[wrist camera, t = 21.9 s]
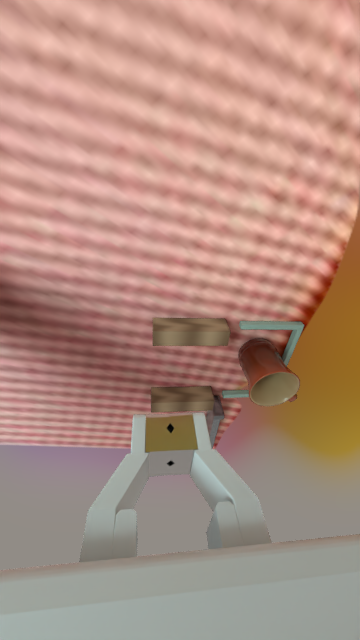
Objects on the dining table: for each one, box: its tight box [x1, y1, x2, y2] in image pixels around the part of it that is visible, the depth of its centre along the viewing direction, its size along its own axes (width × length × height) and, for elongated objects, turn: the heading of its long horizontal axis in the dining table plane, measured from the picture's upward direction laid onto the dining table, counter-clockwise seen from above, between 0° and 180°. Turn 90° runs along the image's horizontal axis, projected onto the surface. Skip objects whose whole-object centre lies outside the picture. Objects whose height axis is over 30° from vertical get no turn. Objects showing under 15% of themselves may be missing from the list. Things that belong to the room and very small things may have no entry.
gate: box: [206, 396, 224, 448], centre depth 61 cm, size 2×18×5 cm, turn 175°
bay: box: [222, 321, 304, 398], centre depth 53 cm, size 12×20×1 cm, turn 176°
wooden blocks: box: [151, 318, 230, 412], centre depth 50 cm, size 13×21×4 cm, turn 176°
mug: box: [238, 338, 300, 406], centre depth 48 cm, size 12×9×10 cm
